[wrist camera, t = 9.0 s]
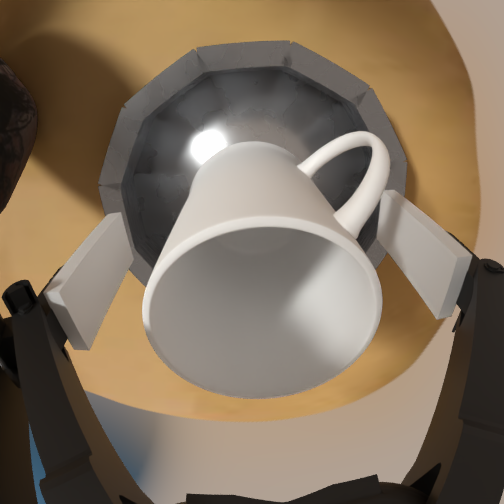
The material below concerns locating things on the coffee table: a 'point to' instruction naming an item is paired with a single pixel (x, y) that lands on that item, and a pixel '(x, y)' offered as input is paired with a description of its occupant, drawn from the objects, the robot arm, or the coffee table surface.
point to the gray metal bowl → (238, 134)
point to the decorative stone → (14, 131)
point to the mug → (266, 273)
